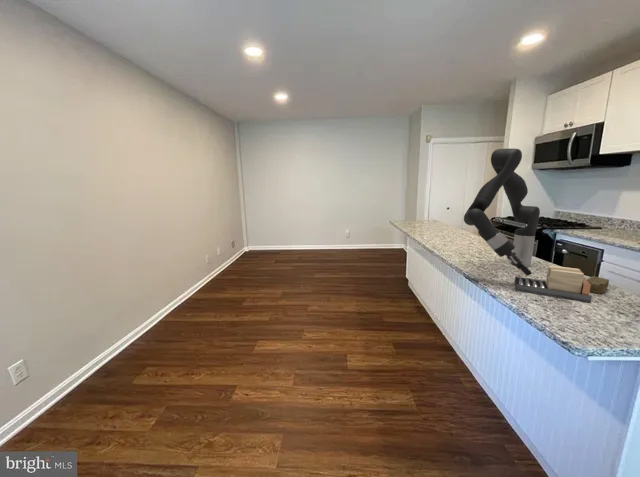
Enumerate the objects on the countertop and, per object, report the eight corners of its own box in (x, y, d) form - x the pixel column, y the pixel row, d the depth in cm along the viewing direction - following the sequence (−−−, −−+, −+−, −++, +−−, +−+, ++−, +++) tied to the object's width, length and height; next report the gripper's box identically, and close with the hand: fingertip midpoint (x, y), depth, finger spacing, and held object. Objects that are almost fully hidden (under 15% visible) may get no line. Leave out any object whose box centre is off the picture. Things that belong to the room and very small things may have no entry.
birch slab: (545, 282, 122) (548, 265, 120) (575, 286, 116) (579, 268, 115) (548, 288, 115) (551, 270, 114) (580, 293, 110) (583, 274, 108)
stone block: (582, 291, 119) (585, 280, 118) (589, 285, 126) (591, 275, 125) (601, 295, 114) (604, 284, 113) (607, 289, 121) (610, 278, 120)
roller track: (514, 282, 130) (516, 268, 128) (583, 292, 117) (586, 276, 116) (515, 290, 120) (517, 275, 119) (590, 302, 107) (594, 286, 106)
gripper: (508, 241, 118) (540, 273, 114) (507, 236, 129) (536, 265, 125) (492, 252, 121) (522, 283, 117) (492, 246, 132) (520, 274, 128)
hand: (529, 274), depth 121 cm, fingers closed
